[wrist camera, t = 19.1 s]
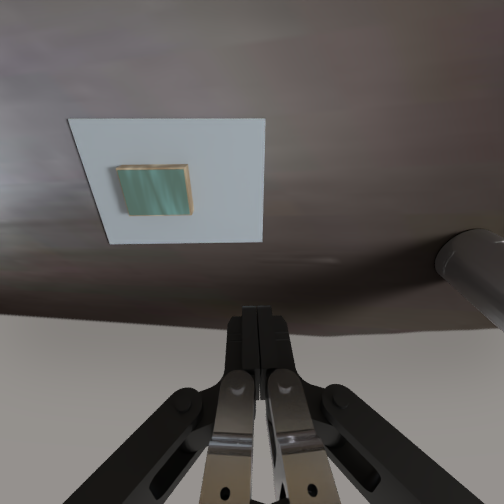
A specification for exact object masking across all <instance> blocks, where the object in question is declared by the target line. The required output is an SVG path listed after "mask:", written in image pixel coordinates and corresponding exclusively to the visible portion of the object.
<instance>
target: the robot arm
mask: <svg viewBox="0 0 504 504" xmlns="http://www.w3.org/2000/svg"><path fill="white" fill-rule="evenodd" d="M435 269H436V271H437V273H438V274H439V275H440V276H441V277H443V278H444V279H445V280H446V281H447V282H448V283H449V284H450V285H452V286H453V287H454V288H455V289H456V290H457V291H458V292H459V293H460V294H461V295H462V296H464V297H465V298H466V299H467V300H468V301H469V302H470V303H471V304H473V305H474V306H475V307H476V308H477V309H478V310H479V311H480V312H481V313H483V314H484V315H485V316H486V317H487V318H488V319H489V320H490V321H492V322H493V323H494V324H495V325H496V326H497V327H498V328H499V329H500V330H502V331H503V332H504V238H503V237H500V236H499V235H497V234H495V233H493V232H491V231H489V230H485V229H474V230H469V231H466V232H463V233H461V234H459V235H457V236H455V237H454V238H452V239H451V240H449V241H448V242H447V243H446V244H445V245H444V246H443V247H442V249H441V250H440V251H439V253H438V255H437V257H436V260H435ZM259 384H260V399H261V400H265V401H266V423H267V430H268V437H269V445H270V452H271V459H272V466H273V475H274V489H275V497H276V502H274V503H272V504H341V502H340V498H339V495H338V491H337V488H336V485H335V481H334V478H333V474H332V471H331V468H330V464H329V461H328V458H327V456H328V457H329V458H330V459H331V460H332V461H333V463H334V464H335V465H336V466H337V467H338V468H339V469H340V470H341V472H342V473H343V474H344V475H345V476H346V477H347V478H348V479H349V480H350V482H351V483H352V484H353V485H354V486H355V487H356V488H357V489H358V490H359V492H360V493H361V494H362V495H363V496H364V497H365V498H366V499H367V500H368V502H369V503H370V504H484V503H483V502H482V501H481V500H480V499H478V498H477V497H476V496H475V495H474V494H472V493H471V492H470V491H469V490H468V489H467V488H465V487H464V486H463V485H462V484H460V483H459V482H458V481H457V480H456V479H455V478H453V477H452V476H451V475H450V474H449V473H448V472H446V471H445V470H444V469H443V468H442V467H441V466H439V465H438V464H437V463H436V462H435V461H434V460H432V459H431V458H430V457H429V456H428V455H426V454H425V453H424V452H423V451H422V450H421V449H419V448H418V447H417V446H416V445H415V444H413V443H412V442H411V441H410V440H409V439H408V438H406V437H405V436H404V435H403V434H402V433H400V432H399V431H398V430H397V429H396V428H395V427H393V426H392V425H391V424H390V423H389V422H388V421H386V420H385V419H384V418H383V417H382V416H380V415H379V414H378V413H377V412H376V411H375V410H373V409H372V408H371V407H370V406H369V405H367V404H366V403H365V402H364V401H363V400H362V399H360V398H359V397H358V396H357V395H356V394H355V393H353V392H352V391H351V390H350V389H348V388H347V387H345V386H343V385H340V384H332V385H329V386H327V387H326V388H325V389H324V388H321V387H318V386H314V385H311V384H309V383H307V382H306V381H304V380H303V379H302V378H301V377H300V376H299V375H298V373H297V371H296V368H295V363H294V358H293V353H292V348H291V342H290V337H289V333H288V327H287V323H286V321H285V320H284V319H283V317H282V316H272V310H271V306H257V314H256V306H242V316H241V317H232V318H231V320H230V322H229V323H228V328H227V343H226V358H225V371H224V375H223V377H222V378H221V380H220V381H219V382H218V383H217V384H216V385H215V386H213V387H211V388H208V389H206V390H203V391H200V392H198V391H197V390H195V389H193V388H182V389H179V390H177V391H176V392H174V393H173V394H172V395H171V396H170V397H169V398H168V399H167V400H166V401H165V402H164V403H163V404H162V405H161V406H160V407H159V408H158V409H157V410H156V411H155V412H154V413H153V414H152V415H151V416H150V417H149V418H148V419H147V420H146V421H145V422H144V423H143V424H142V425H141V426H140V427H139V428H138V429H137V430H136V431H135V432H134V433H133V434H132V435H131V436H130V437H129V438H128V439H127V440H126V441H125V442H124V443H123V444H122V445H121V446H120V447H119V448H118V449H117V450H116V451H115V452H114V453H113V454H112V455H111V456H110V457H109V458H108V459H107V460H106V461H105V462H104V463H103V464H102V465H101V466H100V467H99V468H98V469H97V470H96V471H95V472H94V473H93V474H92V475H91V476H90V477H89V478H88V479H87V480H86V481H85V482H84V483H83V484H82V485H81V486H80V487H79V488H78V489H77V490H76V491H75V492H74V493H73V494H72V495H71V496H70V497H69V498H68V499H67V500H66V501H65V502H64V503H63V504H164V502H165V501H166V500H167V498H168V497H169V496H170V494H171V493H172V492H173V490H174V489H175V488H176V486H177V485H178V484H179V482H180V481H181V480H182V478H183V477H184V476H185V474H186V473H187V472H188V470H189V469H190V468H191V466H192V465H193V464H194V462H195V461H196V460H197V458H198V457H199V456H200V454H201V453H202V452H203V450H204V449H205V447H207V446H209V447H208V451H207V457H206V463H205V469H204V476H203V481H202V487H201V494H200V500H199V504H264V503H261V502H257V501H254V500H252V499H251V497H252V463H253V435H254V420H255V414H256V400H259Z"/></svg>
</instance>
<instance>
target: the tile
mask: <svg viewBox="0 0 504 504" xmlns="http://www.w3.org/2000/svg"><path fill="white" fill-rule="evenodd" d="M116 171H117V175H118V179H119V182H120V186H121V189H122V193H123V197H124V200H125V204H126V207H127V211H128V215H129V216H181V215H192V214H193V211H194V206H193V198H192V190H191V183H190V175H189V168H188V164H141V165H121V166H119V167H117V168H116Z"/></svg>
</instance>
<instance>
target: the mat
mask: <svg viewBox="0 0 504 504" xmlns="http://www.w3.org/2000/svg"><path fill="white" fill-rule="evenodd" d="M68 121H69V124H70V127H71V130H72V133H73V136H74V139H75V142H76V145H77V148H78V151H79V154H80V157H81V160H82V163H83V166H84V169H85V172H86V175H87V178H88V181H89V184H90V187H91V190H92V193H93V195H94V198H95V201H96V204H97V207H98V210H99V213H100V216H101V219H102V222H103V225H104V228H105V231H106V234H107V237H108V240H109V243H110V244H156V243H228V242H262V232H263V192H264V153H265V118H74V119H68ZM141 164H188V168H189V175H190V183H191V190H192V198H193V206H194V211H193V214H192V215H181V216H129V215H128V211H127V207H126V204H125V200H124V197H123V193H122V189H121V186H120V182H119V179H118V175H117V171H116V168H117V167H119V166H121V165H141Z"/></svg>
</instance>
